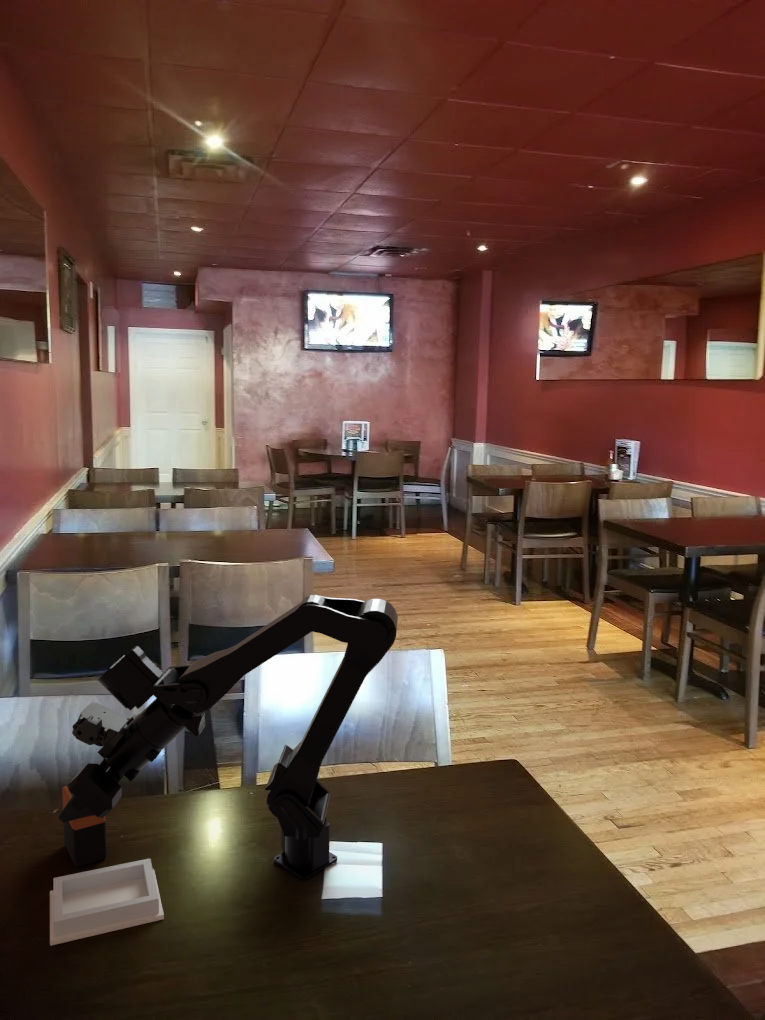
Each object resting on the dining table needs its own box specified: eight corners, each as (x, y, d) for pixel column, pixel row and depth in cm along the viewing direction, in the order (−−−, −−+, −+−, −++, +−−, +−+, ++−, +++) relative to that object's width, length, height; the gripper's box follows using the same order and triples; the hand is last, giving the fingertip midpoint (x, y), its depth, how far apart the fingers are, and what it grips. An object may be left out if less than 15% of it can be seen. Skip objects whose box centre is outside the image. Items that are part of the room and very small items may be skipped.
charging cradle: (154, 873, 107) (153, 855, 106) (163, 919, 98) (163, 899, 97) (50, 895, 102) (49, 876, 101) (50, 945, 93) (49, 925, 92)
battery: (95, 836, 115) (92, 772, 114) (108, 859, 110) (105, 792, 108) (63, 845, 113) (60, 779, 111) (75, 869, 107) (72, 801, 106)
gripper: (134, 665, 117) (63, 732, 119) (81, 717, 98) (-2, 796, 100) (187, 718, 118) (116, 783, 120) (145, 779, 99) (62, 856, 101)
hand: (75, 801), depth 110 cm, fingers open, 9 cm apart
